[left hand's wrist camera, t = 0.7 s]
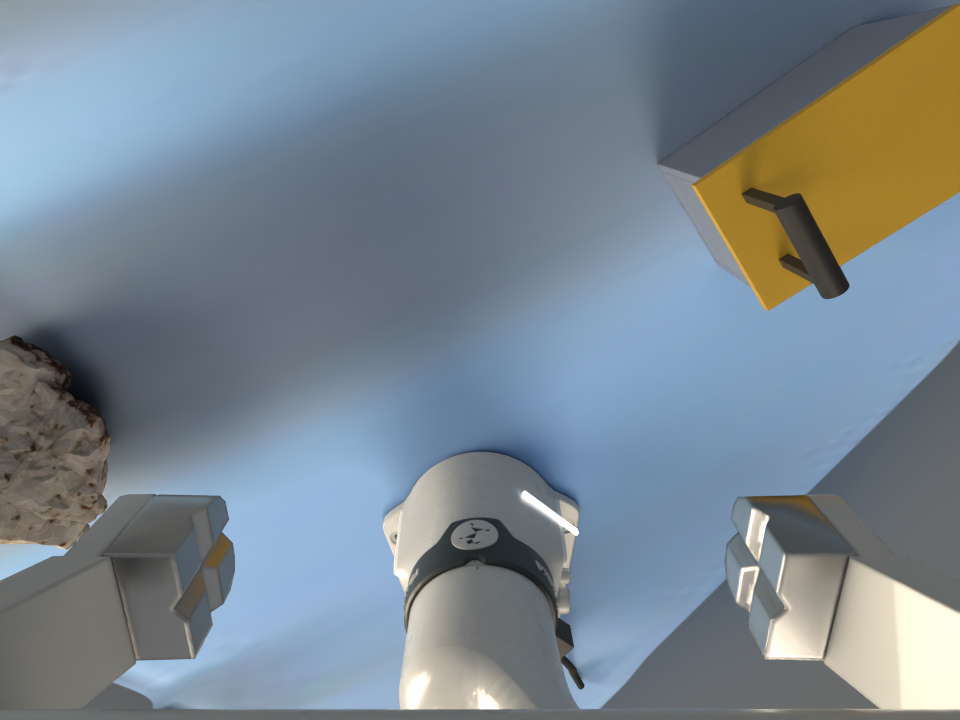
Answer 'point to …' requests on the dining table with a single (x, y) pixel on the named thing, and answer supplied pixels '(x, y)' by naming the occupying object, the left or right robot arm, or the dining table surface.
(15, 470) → the rock
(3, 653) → the left robot arm
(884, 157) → the lid
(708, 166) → the chest
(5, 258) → the dining table surface
